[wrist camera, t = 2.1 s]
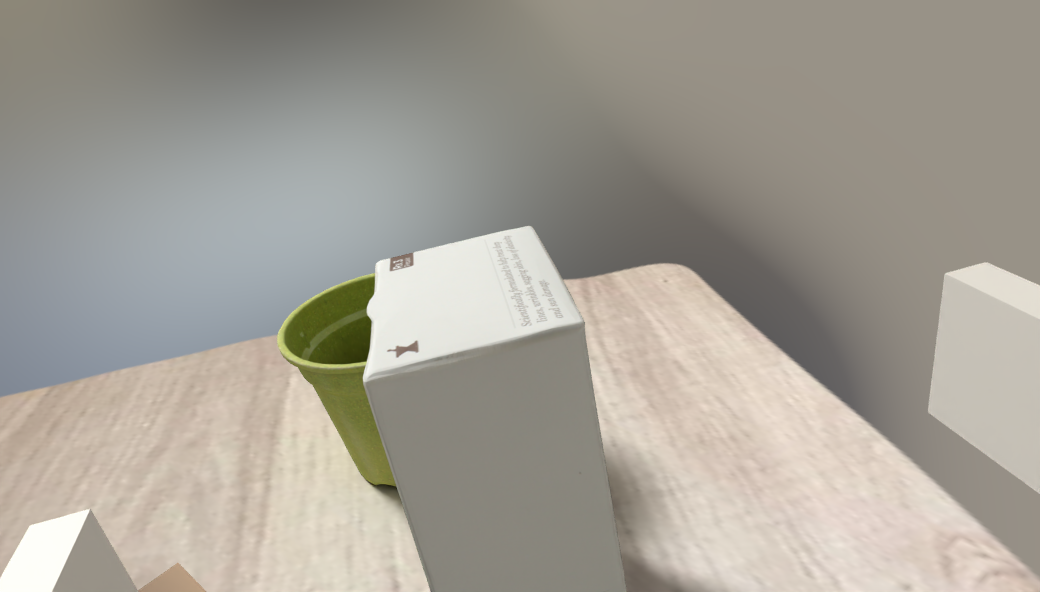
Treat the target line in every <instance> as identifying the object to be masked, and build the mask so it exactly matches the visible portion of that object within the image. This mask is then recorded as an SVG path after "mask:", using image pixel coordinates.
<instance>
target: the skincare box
mask: <svg viewBox="0 0 1040 592" xmlns="http://www.w3.org/2000/svg"><path fill="white" fill-rule="evenodd" d="M367 315H368V316H369V318H370V319H371V321H372V328H371V340H370V350H369V355H368V359H367V363H366V366H365V370H364V375H363V385H364V388H365V391H366V394H367V397H368V401H369V404H370V407H371V410H372V413H373V416H374V419H375V422H376V425H377V428H378V431H379V435H380V438H381V441H382V444H383V447H384V450H385V453H386V456H387V459H388V462H389V465H390V468H391V471H392V474H393V477H394V480H395V483H396V486H397V489H398V492H399V496H400V499H401V502H402V505H403V508H404V511H405V514H406V517H407V520H408V523H409V526H410V529H411V532H412V535H413V538H414V541H415V545H416V548H417V551H418V554H419V557H420V560H421V563H422V566H423V569H424V572H425V575H426V578H427V581H428V584H429V588H430V591H431V592H627V590H626V583H625V577H624V570H623V564H622V558H621V552H620V546H619V540H618V534H617V528H616V522H615V516H614V510H613V504H612V498H611V492H610V486H609V480H608V474H607V468H606V462H605V456H604V450H603V444H602V438H601V432H600V426H599V420H598V414H597V408H596V402H595V396H594V390H593V383H592V377H591V370H590V363H589V356H588V349H587V343H586V336H585V322H584V320H583V318H582V316H581V314H580V312H579V310H578V308H577V306H576V304H575V302H574V300H573V298H572V296H571V294H570V292H569V291H568V289H567V287H566V285H565V283H564V281H563V279H562V277H561V276H560V274H559V272H558V270H557V268H556V266H555V265H554V263H553V261H552V260H551V258H550V256H549V254H548V253H547V251H546V249H545V247H544V245H543V244H542V242H541V240H540V239H539V237H538V236H537V234H536V232H535V231H534V229H533V227H532V226H526V227H522V228H516V229H511V230H506V231H502V232H497V233H493V234H489V235H485V236H481V237H476V238H472V239H468V240H464V241H460V242H456V243H451V244H447V245H443V246H438V247H435V248H431V249H426V250H422V251H418V252H414V253H410V254H406V255H402V256H398V257H393V258H389V259H385V260H381V261H379V262H378V263H377V264H376V265H375V291H374V295H373V297H372V298H371V299H370V301H369V303H368V306H367Z"/></svg>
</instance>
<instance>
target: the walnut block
mask: <svg viewBox="0 0 1040 592" xmlns="http://www.w3.org/2000/svg"><path fill="white" fill-rule="evenodd" d="M138 592H206V591H205V590H204V589H203V588H202V587H201V586H200V585H199V584H198V583H197V582H196V581H195V579H194V578H193V577H192V576H191V575H190V574H189V573H188V572H187V571H186V570H185V569H184V568H183V567H182V566H181V565H180V564H179V563H177V564H175V565H174V566H173V567H171V568H170V569H168V570H167V571H165V572H164V573H163V574H161V575H160V576H158V577H157V578H155V579H154V580H153V581H151V582H150V583H148V584H147V585H145V586H144V587H143V588H141V589H140V590H138Z"/></svg>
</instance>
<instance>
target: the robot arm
mask: <svg viewBox="0 0 1040 592" xmlns="http://www.w3.org/2000/svg"><path fill="white" fill-rule="evenodd" d="M928 413H930V414H931V415H932V416H934V417H935V418H936V419H938V420H939V421H941V422H942V423H943V424H945V425H946V426H947V427H949V428H950V429H951V430H953V431H954V432H956V433H957V434H958V435H960V436H961V437H962V438H964V439H965V440H967V441H968V442H969V443H971V444H972V445H973V446H975V447H976V448H977V449H979V450H980V451H982V452H983V453H984V454H986V455H987V456H988V457H990V458H991V459H993V460H994V461H995V462H997V463H998V464H999V465H1001V466H1002V467H1004V468H1005V469H1006V470H1008V471H1009V472H1010V473H1012V474H1013V475H1014V476H1016V477H1017V478H1019V479H1020V480H1021V481H1023V482H1024V483H1026V484H1027V485H1028V486H1029V487H1031V488H1032V489H1034V490H1035V491H1036V492H1038V493H1039V494H1040V285H1037V284H1035V283H1033V282H1030V281H1028V280H1026V279H1023V278H1021V277H1019V276H1016V275H1014V274H1012V273H1010V272H1007V271H1005V270H1003V269H1001V268H998V267H996V266H994V265H991V264H989V263H987V262H985V263H981V264H978V265H974V266H970V267H967V268H963V269H959V270H956V271H952V272H949V273H945V276H944V284H943V293H942V300H941V308H940V317H939V325H938V333H937V341H936V349H935V357H934V365H933V373H932V382H931V390H930V398H929V406H928ZM0 592H138V590H137V588H136V587H135V585H134V583H133V581H132V580H131V578H130V576H129V575H128V573H127V571H126V569H125V568H124V566H123V564H122V562H121V561H120V559H119V557H118V556H117V554H116V552H115V550H114V549H113V547H112V545H111V544H110V542H109V540H108V538H107V537H106V535H105V533H104V531H103V530H102V528H101V526H100V525H99V523H98V521H97V519H96V518H95V516H94V514H93V512H92V511H91V509H88V510H84V511H81V512H77V513H74V514H70V515H66V516H63V517H59V518H55V519H52V520H48V521H45V522H41V523H37V524H34V525H30V526H29V528H28V530H27V532H26V533H25V535H24V537H23V539H22V541H21V542H20V544H19V546H18V548H17V549H16V551H15V553H14V555H13V557H12V558H11V560H10V562H9V564H8V565H7V567H6V569H5V571H4V573H3V574H2V576H1V578H0Z"/></svg>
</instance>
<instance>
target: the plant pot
mask: <svg viewBox="0 0 1040 592" xmlns="http://www.w3.org/2000/svg"><path fill="white" fill-rule="evenodd" d="M374 291H375V273H373V274H370V275H365V276H361V277H358V278H355V279H352V280H349V281H347V282H344V283H341V284H339V285H337V286H334V287H331V288H329V289H327V290H325V291H323V292H322V293H320V294H318V295H316V296H314V297H312V298H311V299H309V300H308V301H306V302H305V303H303V304H302V305H301V306H299V307H298V308H297V309H296V310H294V311H293V312H292V313H291V314H290V315H289V316H288V318H287V319H286V320H285V321H284V323H283V325H282V327H281V328H280V330H279V333H278V336H277V344H278V347H279V350H280V352H281V354H282V355H283V357H284V358H285V359H286V360H287V361H288V362H290V363H291V364H293V365H294V366H296V367H298V368H299V370H300V372H301V374H302V375H303V377H304V378H305V379H306V380H307V381H308V382H309V383H310V384H312V385H313V387H314V389H315V390H316V392H317V394H318V396H319V398H320V399H321V401H322V403H323V405H324V407H325V409H326V411H327V412H328V414H329V416H330V418H331V420H332V421H333V423H334V425H335V427H336V429H337V431H338V433H339V434H340V436H341V438H342V440H343V442H344V444H345V446H346V448H347V450H348V452H349V453H350V455H351V457H352V459H353V461H354V463H355V464H356V466H357V468H358V470H359V472H360V473H361V475H362V476H363V477H364V478H365V479H366V480H367V481H369V482H370V483H372V484H374V485H378V484H387V485H392V486H396V483H395V480H394V477H393V474H392V471H391V468H390V465H389V462H388V459H387V456H386V453H385V450H384V447H383V444H382V441H381V438H380V435H379V431H378V428H377V425H376V422H375V419H374V416H373V413H372V410H371V407H370V404H369V401H368V397H367V394H366V391H365V388H364V385H363V375H364V370H365V366H366V363H367V359H368V355H369V350H370V340H371V328H372V321H371V319H370V318H369V316H368V315H367V306H368V303H369V301H370V299H371V298H372V297H373V295H374ZM396 487H397V486H396Z"/></svg>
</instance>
